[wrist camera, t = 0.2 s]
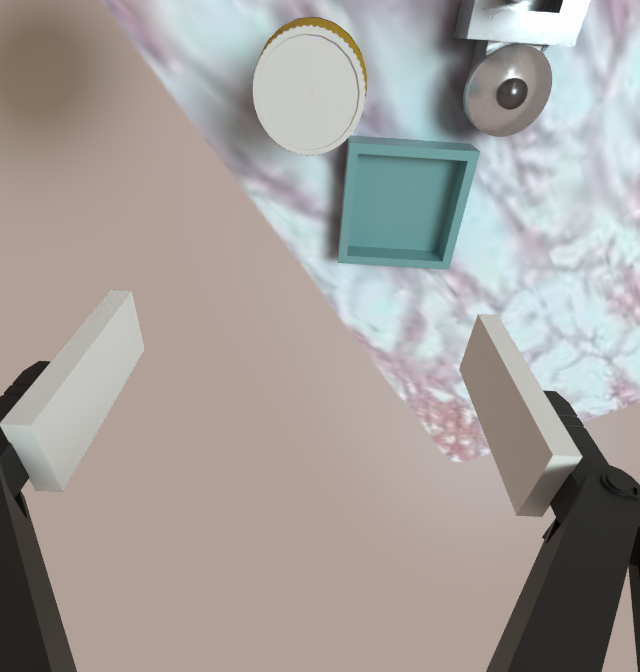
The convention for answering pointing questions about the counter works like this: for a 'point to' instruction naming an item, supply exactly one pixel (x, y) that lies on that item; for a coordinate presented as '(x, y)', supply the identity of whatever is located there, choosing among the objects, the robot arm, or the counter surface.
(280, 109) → the bottle
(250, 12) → the counter surface
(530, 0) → the pin
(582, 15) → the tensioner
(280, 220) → the counter surface
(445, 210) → the tray
